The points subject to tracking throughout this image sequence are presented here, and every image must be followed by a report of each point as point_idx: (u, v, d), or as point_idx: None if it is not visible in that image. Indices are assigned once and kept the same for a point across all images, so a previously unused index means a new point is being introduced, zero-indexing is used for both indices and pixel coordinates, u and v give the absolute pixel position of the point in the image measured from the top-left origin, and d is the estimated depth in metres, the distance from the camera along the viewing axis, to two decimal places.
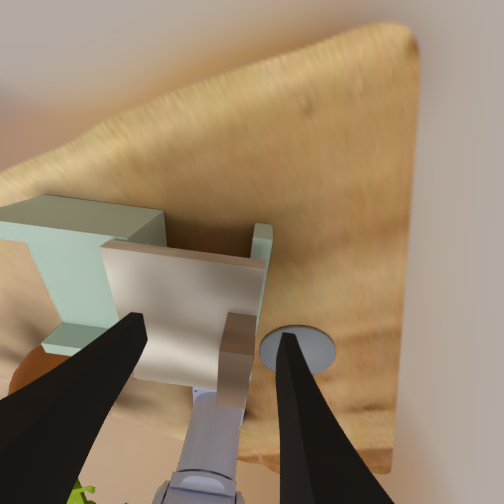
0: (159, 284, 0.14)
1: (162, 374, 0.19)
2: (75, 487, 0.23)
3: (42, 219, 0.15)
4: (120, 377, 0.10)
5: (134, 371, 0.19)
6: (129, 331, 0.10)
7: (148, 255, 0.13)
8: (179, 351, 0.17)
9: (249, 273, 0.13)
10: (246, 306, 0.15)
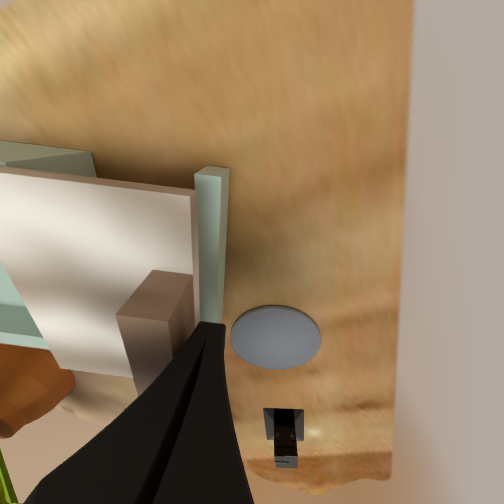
0: (49, 227, 0.10)
1: (92, 361, 0.15)
2: (1, 503, 0.19)
3: None
4: None
5: (56, 358, 0.15)
6: (206, 342, 0.10)
7: (20, 177, 0.09)
8: (104, 329, 0.13)
9: (169, 204, 0.09)
10: (175, 259, 0.10)
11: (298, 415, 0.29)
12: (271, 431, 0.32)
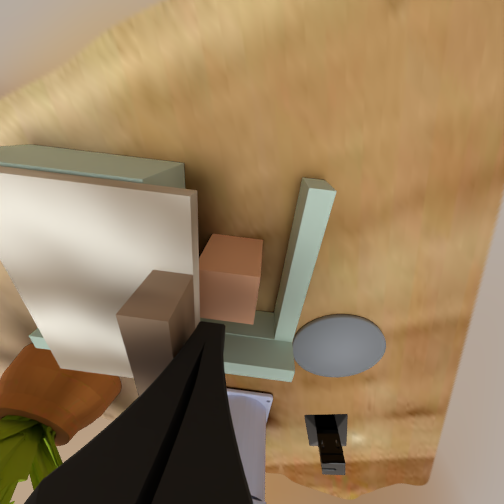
0: (50, 227, 0.10)
1: (92, 361, 0.15)
2: None
3: (23, 159, 0.11)
4: None
5: (56, 358, 0.15)
6: (206, 342, 0.10)
7: (21, 177, 0.09)
8: (104, 330, 0.13)
9: (169, 204, 0.09)
10: (176, 259, 0.10)
11: (341, 421, 0.29)
12: (313, 438, 0.32)
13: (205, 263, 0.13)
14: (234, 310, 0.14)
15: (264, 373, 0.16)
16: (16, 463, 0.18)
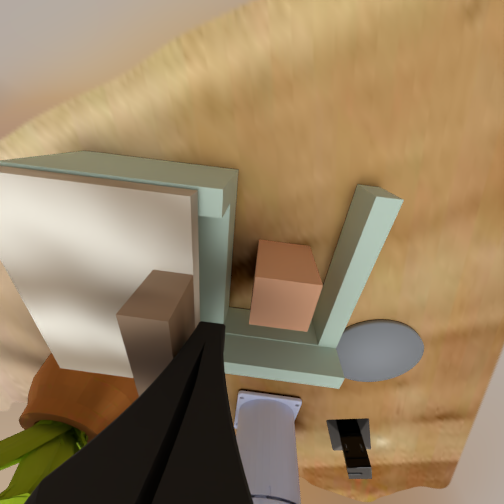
0: (50, 227, 0.10)
1: (92, 361, 0.15)
2: None
3: (96, 168, 0.11)
4: None
5: (56, 358, 0.15)
6: (206, 342, 0.10)
7: (21, 177, 0.09)
8: (104, 329, 0.13)
9: (169, 204, 0.09)
10: (176, 259, 0.10)
11: (363, 424, 0.29)
12: (336, 442, 0.32)
13: (264, 271, 0.13)
14: (289, 318, 0.14)
15: (312, 380, 0.16)
16: None
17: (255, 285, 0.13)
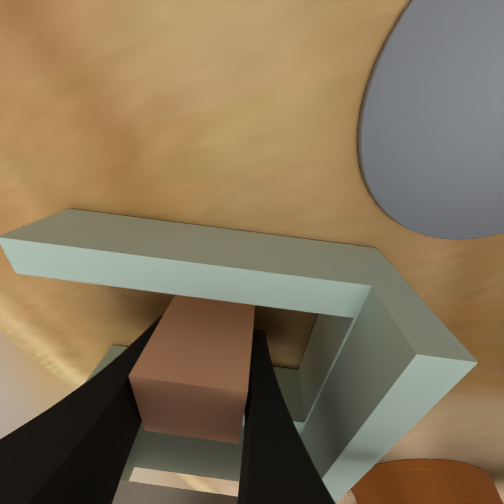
0: None
1: None
2: None
3: None
4: None
5: None
6: None
7: None
8: None
9: None
10: None
11: None
12: None
13: None
14: (215, 409, 0.08)
15: (406, 406, 0.06)
16: None
17: (160, 431, 0.09)
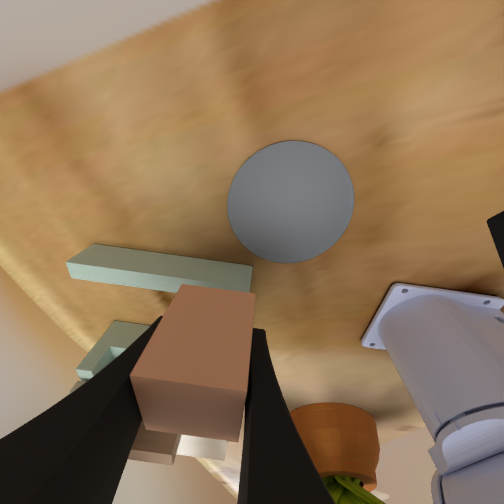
0: None
1: (212, 448, 0.22)
2: None
3: None
4: None
5: (213, 458, 0.23)
6: None
7: None
8: None
9: None
10: None
11: None
12: None
13: None
14: (215, 408, 0.08)
15: None
16: None
17: (160, 430, 0.09)
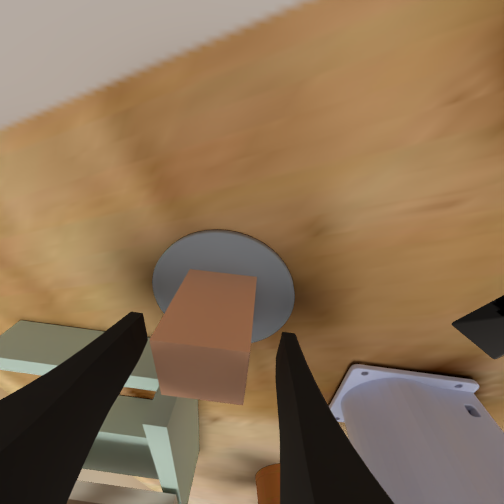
0: None
1: None
2: None
3: None
4: (119, 377, 0.10)
5: None
6: (129, 331, 0.10)
7: None
8: None
9: None
10: None
11: (481, 320, 0.14)
12: None
13: None
14: (223, 370, 0.09)
15: (159, 442, 0.13)
16: None
17: (174, 395, 0.11)
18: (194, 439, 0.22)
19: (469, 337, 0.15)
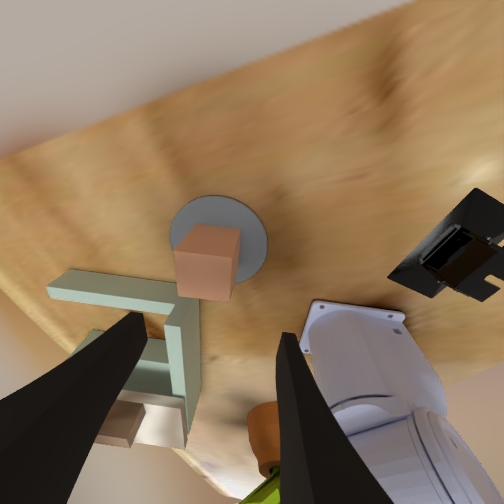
0: None
1: (172, 438, 0.26)
2: None
3: None
4: (120, 377, 0.10)
5: (175, 447, 0.27)
6: (129, 331, 0.10)
7: None
8: (141, 427, 0.25)
9: None
10: None
11: (404, 271, 0.20)
12: None
13: None
14: (216, 272, 0.15)
15: (174, 342, 0.20)
16: (262, 496, 0.25)
17: (186, 296, 0.17)
18: (197, 372, 0.28)
19: (404, 285, 0.21)
